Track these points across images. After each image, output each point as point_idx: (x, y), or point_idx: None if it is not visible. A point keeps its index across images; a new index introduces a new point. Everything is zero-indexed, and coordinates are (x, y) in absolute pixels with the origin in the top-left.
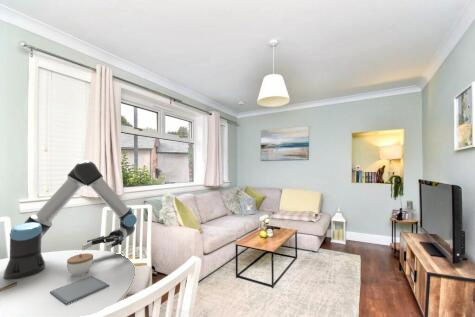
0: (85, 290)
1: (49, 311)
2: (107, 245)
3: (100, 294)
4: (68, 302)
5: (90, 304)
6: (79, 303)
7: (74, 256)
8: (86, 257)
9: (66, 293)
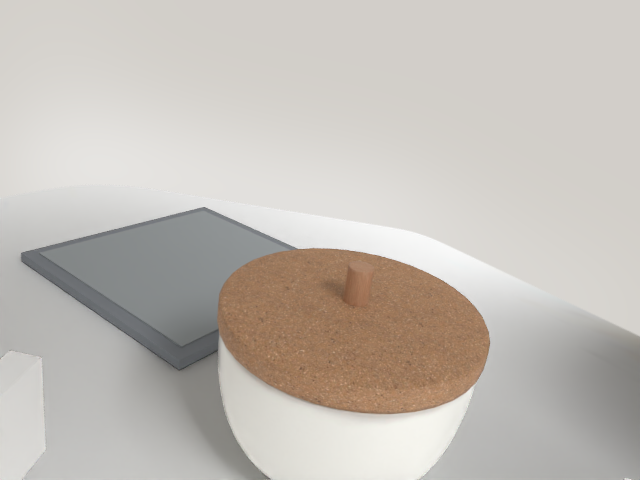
0: (153, 242)
1: (249, 206)
2: (21, 362)
3: (67, 227)
4: (198, 208)
5: (102, 199)
6: (151, 210)
7: (452, 328)
8: (275, 281)
9: (245, 244)
